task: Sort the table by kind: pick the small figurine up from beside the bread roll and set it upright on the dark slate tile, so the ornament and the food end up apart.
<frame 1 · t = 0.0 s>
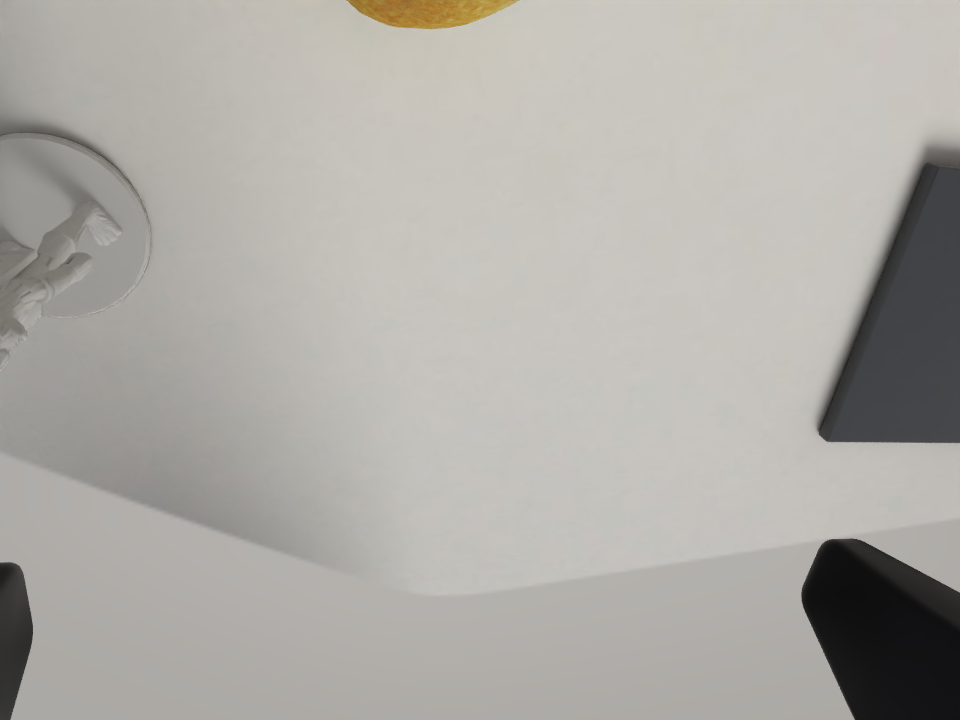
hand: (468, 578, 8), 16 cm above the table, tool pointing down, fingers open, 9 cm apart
figurine: (52, 227, 20), on the table
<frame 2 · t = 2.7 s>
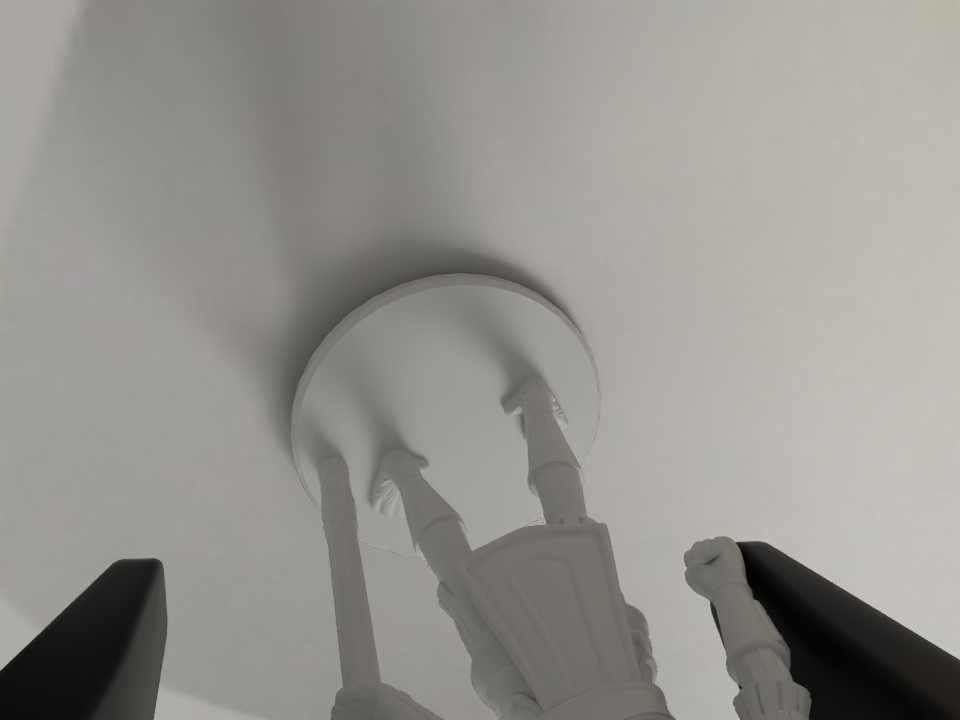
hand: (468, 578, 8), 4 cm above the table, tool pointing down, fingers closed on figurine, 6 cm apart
figurine: (448, 416, 12), on the table, touching gripper
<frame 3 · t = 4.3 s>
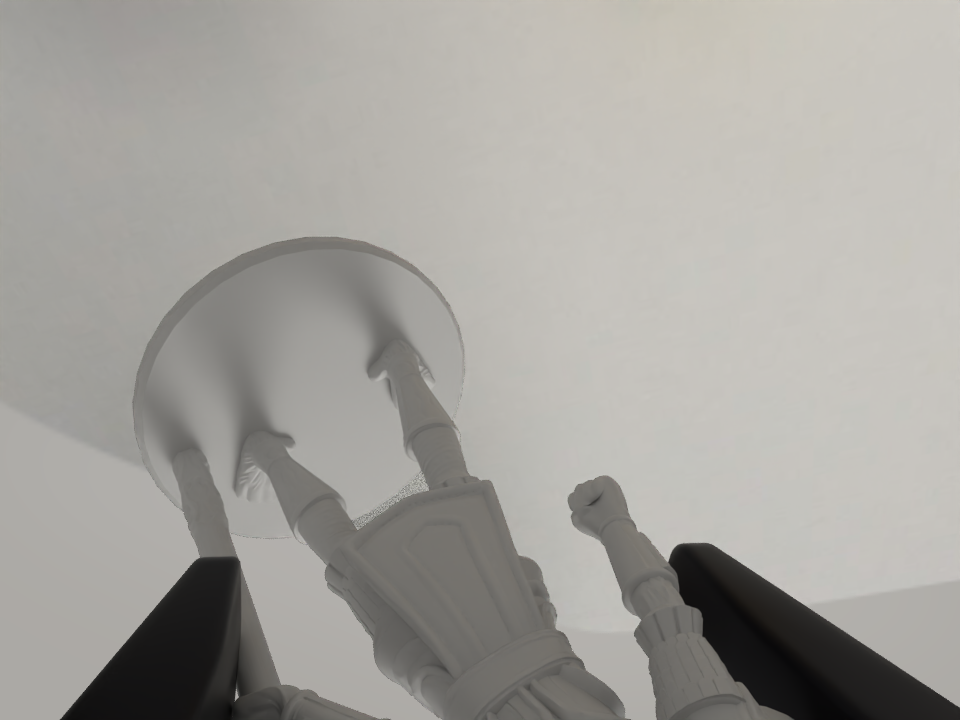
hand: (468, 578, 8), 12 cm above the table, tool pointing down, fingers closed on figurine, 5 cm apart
figurine: (309, 389, 12), point 7 cm above the table, touching gripper
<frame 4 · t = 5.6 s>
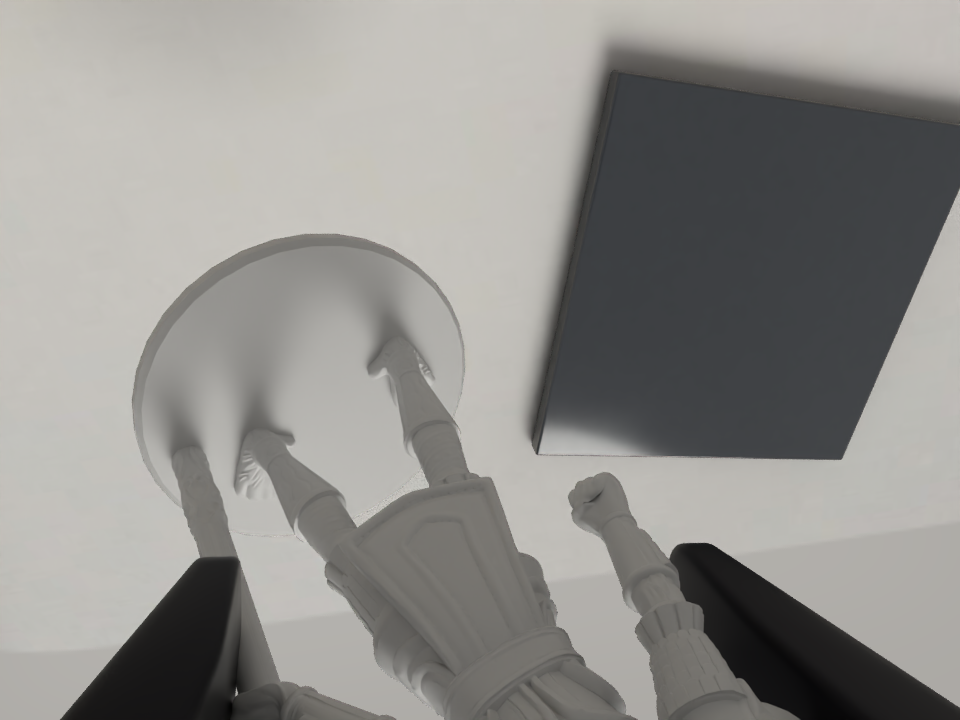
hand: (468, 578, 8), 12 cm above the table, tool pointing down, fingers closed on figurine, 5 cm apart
figurine: (309, 387, 12), point 8 cm above the table, touching gripper
slate tile: (739, 292, 21), on the table
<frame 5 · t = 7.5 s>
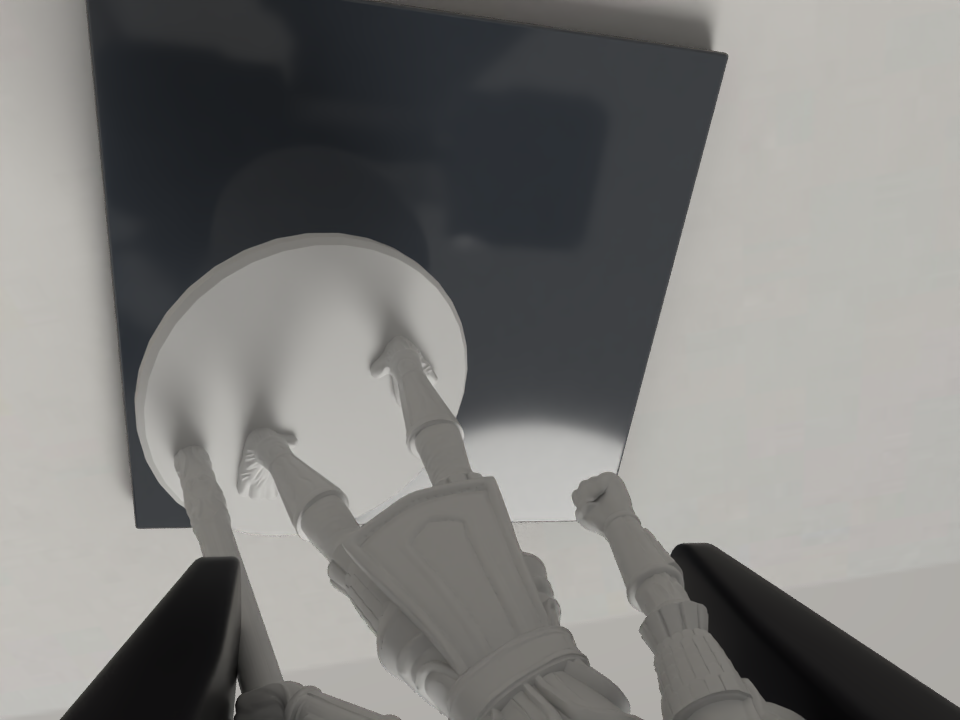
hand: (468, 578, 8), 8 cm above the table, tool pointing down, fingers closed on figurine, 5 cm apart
figurine: (312, 386, 12), point 4 cm above the table, touching gripper
slate tile: (406, 299, 15), on the table
when the fingers open (6 cm above the table, at t = 8.6 s): figurine stays where it is, resting on slate tile.
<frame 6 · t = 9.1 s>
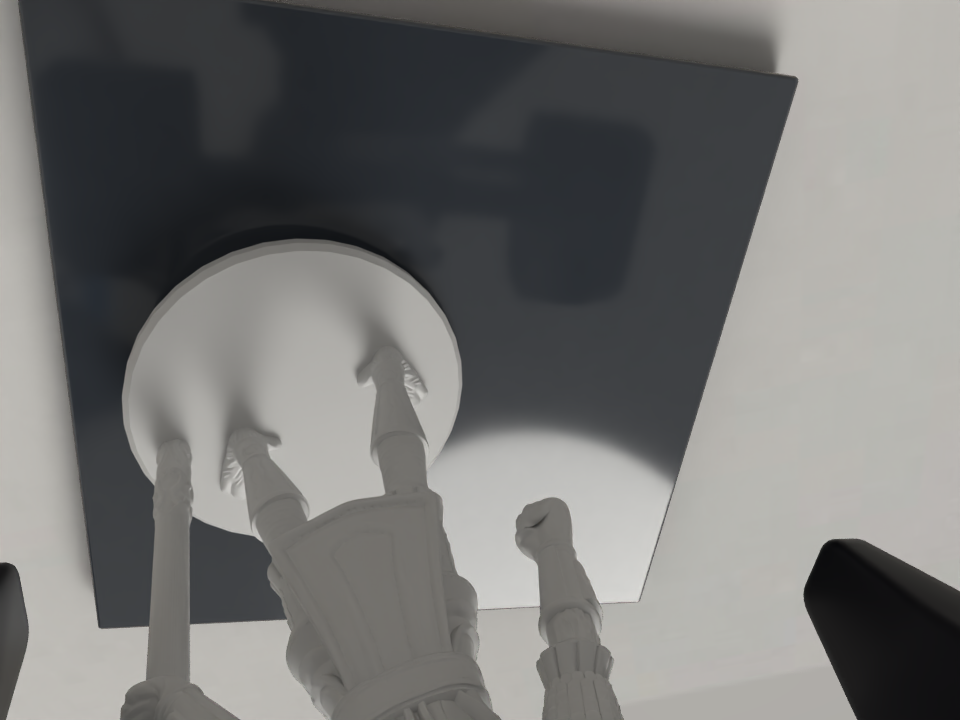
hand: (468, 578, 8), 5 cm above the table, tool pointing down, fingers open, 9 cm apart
figurine: (302, 391, 12), point 1 cm above the table, touching gripper, slate tile
slate tile: (414, 362, 13), on the table
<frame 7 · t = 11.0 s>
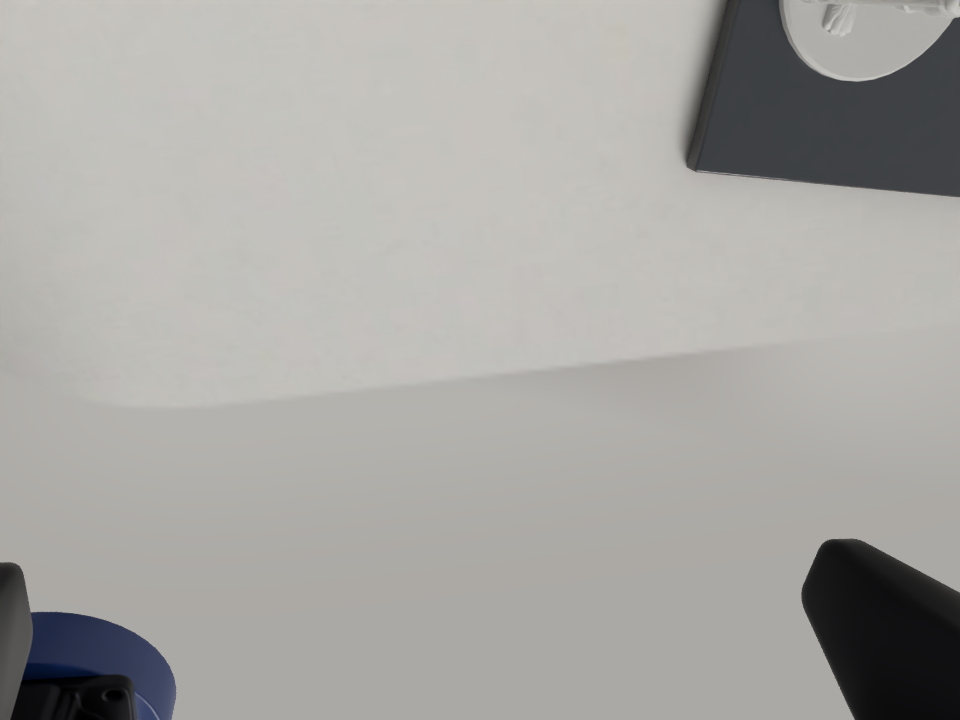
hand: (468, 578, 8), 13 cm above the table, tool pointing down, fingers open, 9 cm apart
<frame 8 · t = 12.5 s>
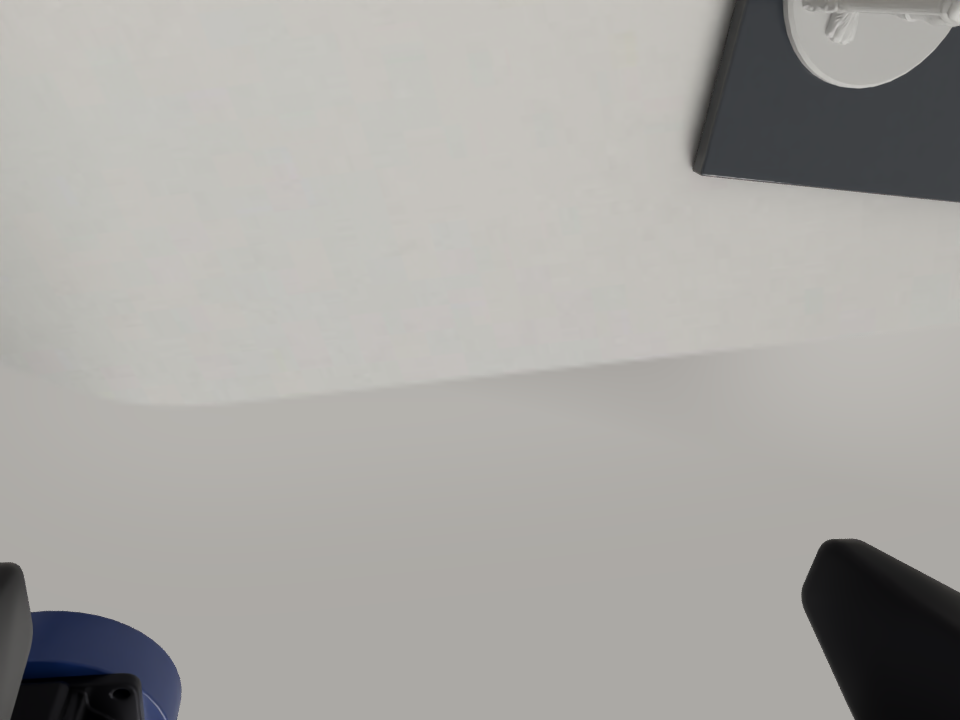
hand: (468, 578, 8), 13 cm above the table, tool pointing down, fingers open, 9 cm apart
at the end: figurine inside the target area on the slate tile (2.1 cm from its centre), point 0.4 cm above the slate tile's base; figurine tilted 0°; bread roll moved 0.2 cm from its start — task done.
